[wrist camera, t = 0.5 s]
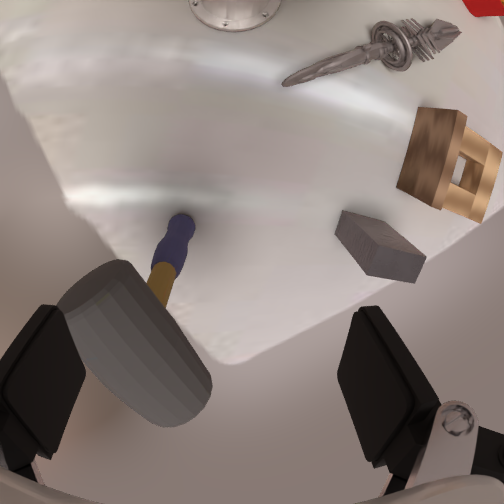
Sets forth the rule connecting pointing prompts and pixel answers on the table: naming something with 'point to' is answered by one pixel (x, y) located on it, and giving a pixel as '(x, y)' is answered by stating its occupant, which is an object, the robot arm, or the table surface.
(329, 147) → the table surface
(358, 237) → the brushed grey post
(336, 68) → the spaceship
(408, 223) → the table surface
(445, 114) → the wooden frame stool
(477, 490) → the robot arm
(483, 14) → the french fries
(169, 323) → the rubber mallet
